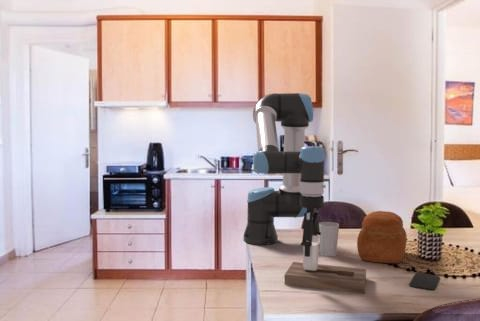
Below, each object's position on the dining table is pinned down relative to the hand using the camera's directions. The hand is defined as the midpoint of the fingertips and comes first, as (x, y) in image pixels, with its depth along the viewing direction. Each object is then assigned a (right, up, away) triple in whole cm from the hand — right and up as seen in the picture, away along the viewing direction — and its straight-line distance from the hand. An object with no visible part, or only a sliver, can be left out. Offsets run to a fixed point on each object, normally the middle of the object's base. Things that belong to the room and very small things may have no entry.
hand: (311, 260), depth 137 cm
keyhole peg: (0, -6, 0) cm, 6 cm away
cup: (+12, -5, +30) cm, 33 cm away
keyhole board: (+5, -7, -1) cm, 8 cm away
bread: (+32, -5, +28) cm, 43 cm away
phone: (+36, -7, -1) cm, 37 cm away
